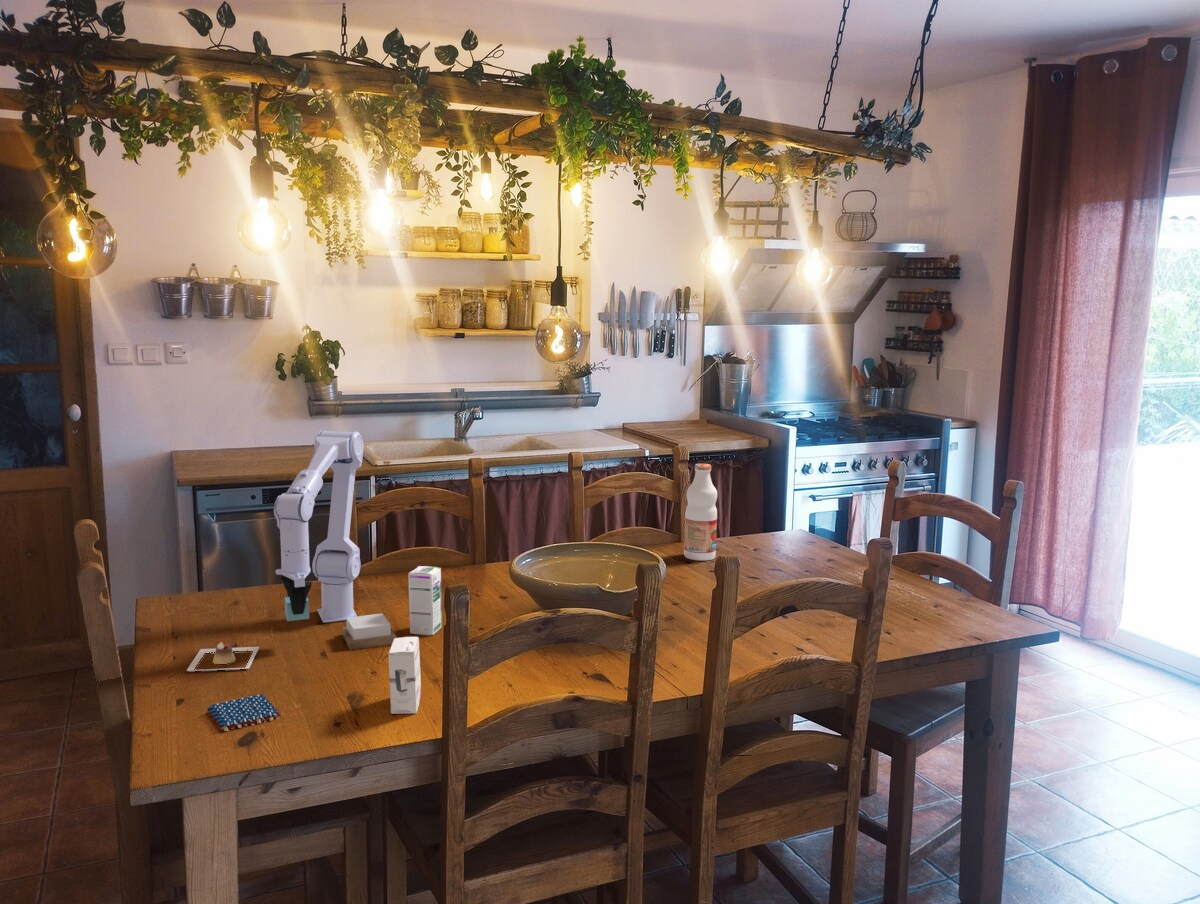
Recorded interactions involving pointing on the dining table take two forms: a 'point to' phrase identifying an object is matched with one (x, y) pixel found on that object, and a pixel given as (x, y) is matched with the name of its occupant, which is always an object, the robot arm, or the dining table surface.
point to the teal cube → (289, 613)
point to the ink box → (404, 675)
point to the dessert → (222, 656)
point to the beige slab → (367, 640)
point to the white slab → (368, 626)
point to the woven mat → (242, 712)
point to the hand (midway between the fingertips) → (297, 610)
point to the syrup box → (425, 600)
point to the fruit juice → (701, 516)
